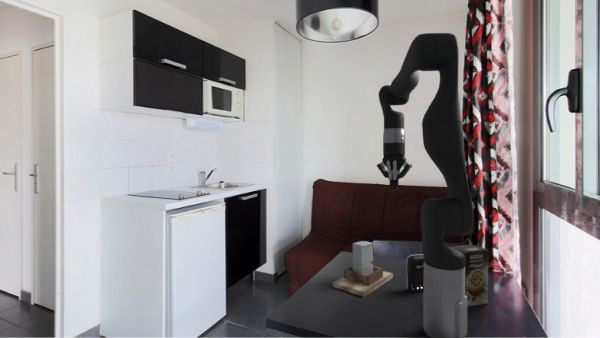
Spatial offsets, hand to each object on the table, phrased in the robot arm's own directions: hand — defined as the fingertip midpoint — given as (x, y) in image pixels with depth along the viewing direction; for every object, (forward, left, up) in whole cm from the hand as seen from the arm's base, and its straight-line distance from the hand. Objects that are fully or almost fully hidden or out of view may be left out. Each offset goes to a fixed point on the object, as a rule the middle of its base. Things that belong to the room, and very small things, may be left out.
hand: (393, 189), depth 116 cm
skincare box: (+5, +13, -30) cm, 33 cm away
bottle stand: (+5, +13, -31) cm, 34 cm away
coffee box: (-26, +6, -31) cm, 41 cm away
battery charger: (-12, +8, -31) cm, 34 cm away
